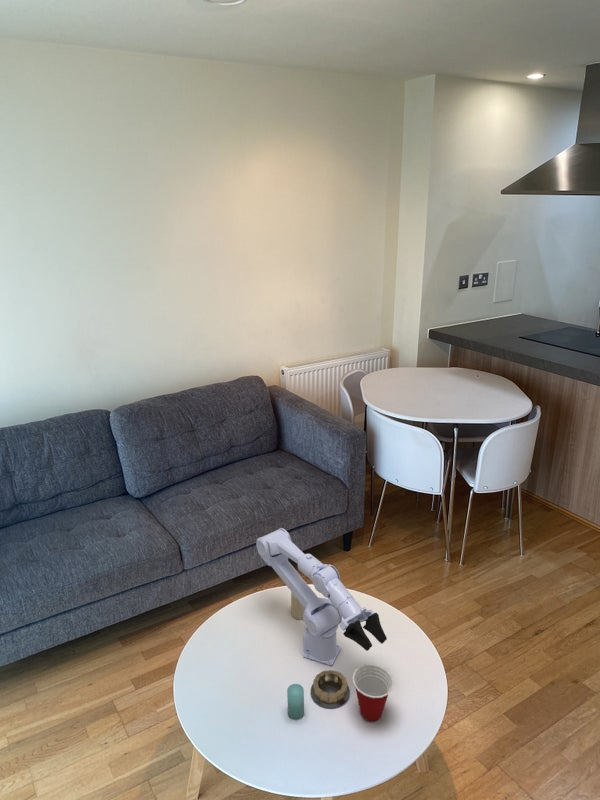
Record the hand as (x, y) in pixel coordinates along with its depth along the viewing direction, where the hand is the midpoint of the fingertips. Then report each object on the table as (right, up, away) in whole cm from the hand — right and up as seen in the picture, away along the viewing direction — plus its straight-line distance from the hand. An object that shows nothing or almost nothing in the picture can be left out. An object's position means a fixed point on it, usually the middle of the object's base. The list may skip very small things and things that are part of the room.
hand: (377, 644), depth 158 cm
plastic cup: (-1, -19, +2) cm, 19 cm away
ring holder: (-12, -17, +8) cm, 22 cm away
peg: (-22, -19, +2) cm, 29 cm away
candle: (-21, -6, +39) cm, 44 cm away
